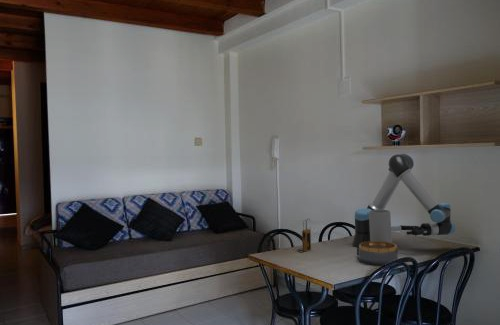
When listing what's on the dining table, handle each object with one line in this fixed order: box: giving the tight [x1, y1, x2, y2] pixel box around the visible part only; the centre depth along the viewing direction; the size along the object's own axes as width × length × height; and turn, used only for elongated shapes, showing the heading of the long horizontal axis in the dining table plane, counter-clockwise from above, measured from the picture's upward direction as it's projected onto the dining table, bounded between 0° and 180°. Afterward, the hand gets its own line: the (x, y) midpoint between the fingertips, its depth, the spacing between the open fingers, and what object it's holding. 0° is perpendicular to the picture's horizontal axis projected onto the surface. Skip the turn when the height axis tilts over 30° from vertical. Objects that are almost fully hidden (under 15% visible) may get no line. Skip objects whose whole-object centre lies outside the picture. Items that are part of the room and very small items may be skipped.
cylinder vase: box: [369, 209, 393, 243], centre depth 266 cm, size 12×12×25 cm
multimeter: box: [296, 218, 312, 254], centre depth 278 cm, size 15×10×20 cm
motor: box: [356, 241, 399, 267], centre depth 248 cm, size 24×21×9 cm
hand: (395, 230), depth 266 cm, fingers open, 13 cm apart
